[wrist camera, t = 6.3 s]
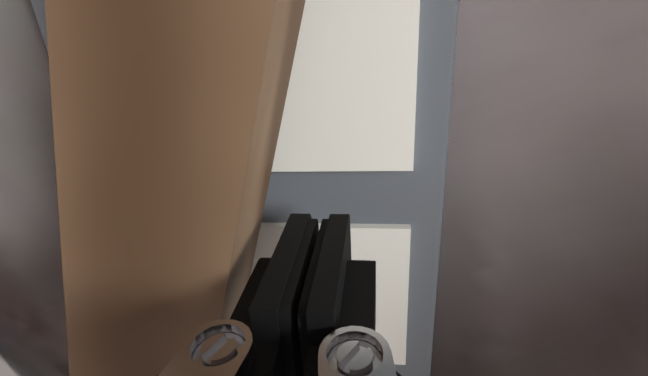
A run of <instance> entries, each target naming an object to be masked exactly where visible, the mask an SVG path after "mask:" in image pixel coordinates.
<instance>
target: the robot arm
mask: <svg viewBox="0 0 648 376" xmlns="http://www.w3.org/2000/svg"><path fill="white" fill-rule="evenodd" d="M375 329H376V261H370V260H351V232H350V215H349V214H330V215H329V219H322V222H321V225H320V229H319V224H318V219H312V218H311V214H299V213H291V214H290V216H289V218H288V220H287V223H286V225H285V227H284V230H283V232H282V234H281V236H280V239H279V241H278V243H277V246H276V248H275V250H274V253H273V255H272V257H271V258H264V257H262V258H259V260H258V261H257V263H256V265H255V268H254V270H253V272H252V274H251V276H250V278H249V280H248V282H247V284H246V286H245V288H244V290H243V292H242V294H241V296H240V299H239V301H238V303H237V305H236V307H235V309H234V311H233V313H232V315H231V317H230V319H222V320H217V321H213V322H210V323H208V324H205V325H203V326H201V327H200V328H198V329H197V330H195V331H194V332H193V333H192V334H191V335H190V336H189V337H188V338H187V339H186V341H185V342H184V343H183V345H182V346H181V347H180V348H179V350H178V351H177V352H176V354H175V355H174V356H173V357H172V359H171V360H170V361H169V363H168V364H167V365H166V366H165V368H164V369H163V370H162V372H161V373H160V374H158V375H157V376H401V375H400V374H399V373H398V372H397V371H396V370H395V365H394V361H393V356H392V352H391V349H390V346H389V344H388V342H387V341H386V340H385V338H384V337H383V336H382V335H381V334H379V333H378V332H376V331H375Z"/></svg>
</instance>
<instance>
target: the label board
mask: <svg viewBox="0 0 648 376" xmlns="http://www.w3.org/2000/svg"><path fill="white" fill-rule="evenodd" d="M31 3H32V7H33V10H34V13H35V16H36V19H37V22H38V25H39V28H40V31H41V34H42V37H43V40H44V43H45V46H46V49H47V53H48V42H47V27H46V12H45V0H31ZM458 7H459V0H305V5H304V10H303V15H302V20H301V25H300V30H299V35H298V40H297V45H296V50H295V55H294V60H293V65H292V70H291V75H290V80H289V86H288V91H287V96H286V101H285V106H284V111H283V116H282V121H281V126H280V131H279V136H278V141H277V146H276V151H275V156H274V161H273V166H272V171H271V176H270V181H269V186H268V191H267V196H266V201H265V206H264V211H263V216H262V221H261V226H260V231H259V236H258V241H257V246H256V251H255V256H254V261H253V266H252V271H251V274H252V272H253V270H254V268H255V265H256V263H257V261H258V260H259V258H262V257H264V258H271V257H272V255H273V253H274V250H275V248H276V246H277V243H278V241H279V239H280V236H281V234H282V232H283V230H284V227H285V225H286V223H287V220H288V218H289V216H290V214H291V213H299V214H311V218H312V219H318V224H319V229H320V225H321V222H322V219H329V215H330V214H349V215H350V232H351V260H370V261H376V329H375V331H376V332H378V333H379V334H381V335H382V336H383V337H384V338H385V340H386V341H387V342H388V344H389V346H390V349H391V352H392V356H393V361H394V365H395V370H396V371H397V372H398V373H399V374H400V375H401V376H430V371H431V358H432V345H433V332H434V319H435V306H436V293H437V280H438V267H439V254H440V241H441V228H442V215H443V202H444V189H445V176H446V163H447V150H448V137H449V124H450V111H451V98H452V85H453V72H454V59H455V46H456V33H457V20H458Z"/></svg>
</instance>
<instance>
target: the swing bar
mask: <svg viewBox="0 0 648 376" xmlns="http://www.w3.org/2000/svg"><path fill="white" fill-rule="evenodd" d="M304 5H305V0H45V12H46V27H47V42H48V57H49V73H50V88H51V103H52V119H53V134H54V149H55V165H56V180H57V195H58V210H59V226H60V241H61V256H62V272H63V287H64V302H65V317H66V333H67V348H68V363H69V376H157V375H158V374H160V373H161V372H162V370H163V369H164V368H165V366H166V365H167V364H168V363H169V361H170V360H171V359H172V357H173V356H174V355H175V354H176V352H177V351H178V350H179V348H180V347H181V346H182V345H183V343H184V342H185V341H186V339H187V338H188V337H189V336H190V335H191V334H192V333H193V332H194V331H195V330H197V329H198V328H200V327H201V326H203V325H205V324H208V323H210V322H213V321H217V320H222V319H230V317H231V315H232V313H233V311H234V309H235V307H236V305H237V303H238V301H239V299H240V296H241V294H242V292H243V290H244V288H245V286H246V284H247V282H248V280H249V278H250V276H251V271H252V266H253V261H254V256H255V251H256V246H257V241H258V236H259V231H260V226H261V221H262V216H263V211H264V206H265V201H266V196H267V191H268V186H269V181H270V176H271V171H272V166H273V161H274V156H275V151H276V146H277V141H278V136H279V131H280V126H281V121H282V116H283V111H284V106H285V101H286V96H287V91H288V86H289V80H290V75H291V70H292V65H293V60H294V55H295V50H296V45H297V40H298V35H299V30H300V25H301V20H302V15H303V10H304Z"/></svg>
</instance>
